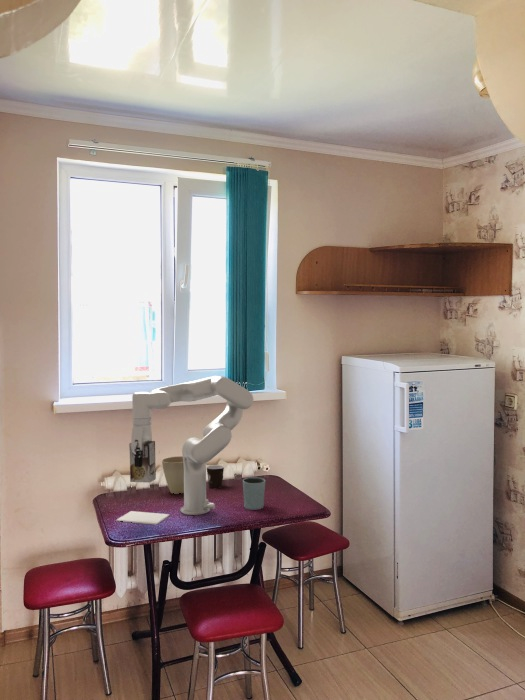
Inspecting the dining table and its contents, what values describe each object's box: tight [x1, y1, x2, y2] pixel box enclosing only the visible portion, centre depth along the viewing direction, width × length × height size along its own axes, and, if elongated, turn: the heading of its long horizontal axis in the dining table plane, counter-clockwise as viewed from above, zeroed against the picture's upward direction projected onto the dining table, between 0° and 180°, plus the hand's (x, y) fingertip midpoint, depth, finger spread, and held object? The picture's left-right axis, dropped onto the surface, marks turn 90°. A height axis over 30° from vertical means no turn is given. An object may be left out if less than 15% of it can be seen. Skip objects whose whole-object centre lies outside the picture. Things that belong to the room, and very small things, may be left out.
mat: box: [116, 510, 170, 526], centre depth 239 cm, size 18×12×1 cm, turn 74°
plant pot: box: [161, 455, 184, 495], centre depth 279 cm, size 15×15×16 cm
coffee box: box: [128, 440, 157, 483], centre depth 238 cm, size 9×6×16 cm
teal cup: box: [242, 476, 266, 511], centre depth 254 cm, size 10×10×12 cm
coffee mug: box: [206, 464, 225, 489], centre depth 286 cm, size 12×9×10 cm
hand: (142, 464), depth 238 cm, fingers closed on coffee box, 6 cm apart
